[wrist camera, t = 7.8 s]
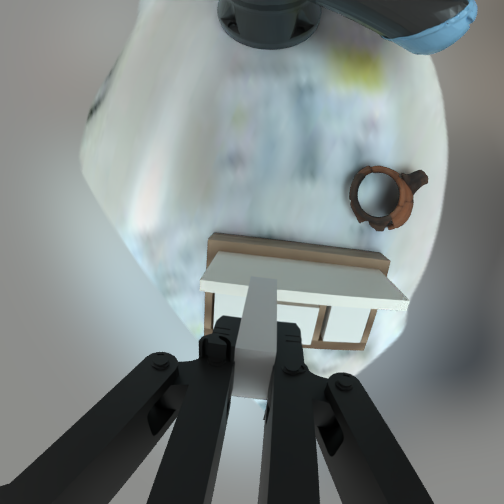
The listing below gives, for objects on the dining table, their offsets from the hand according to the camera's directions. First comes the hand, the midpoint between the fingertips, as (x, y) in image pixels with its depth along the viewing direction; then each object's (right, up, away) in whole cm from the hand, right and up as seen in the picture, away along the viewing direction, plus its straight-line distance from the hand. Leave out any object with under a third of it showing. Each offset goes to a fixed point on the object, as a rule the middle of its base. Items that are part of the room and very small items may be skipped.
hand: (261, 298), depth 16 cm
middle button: (+5, -6, +23) cm, 24 cm away
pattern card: (+6, +1, +20) cm, 21 cm away
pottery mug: (+19, +11, +21) cm, 30 cm away
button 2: (+13, -7, +24) cm, 28 cm away
